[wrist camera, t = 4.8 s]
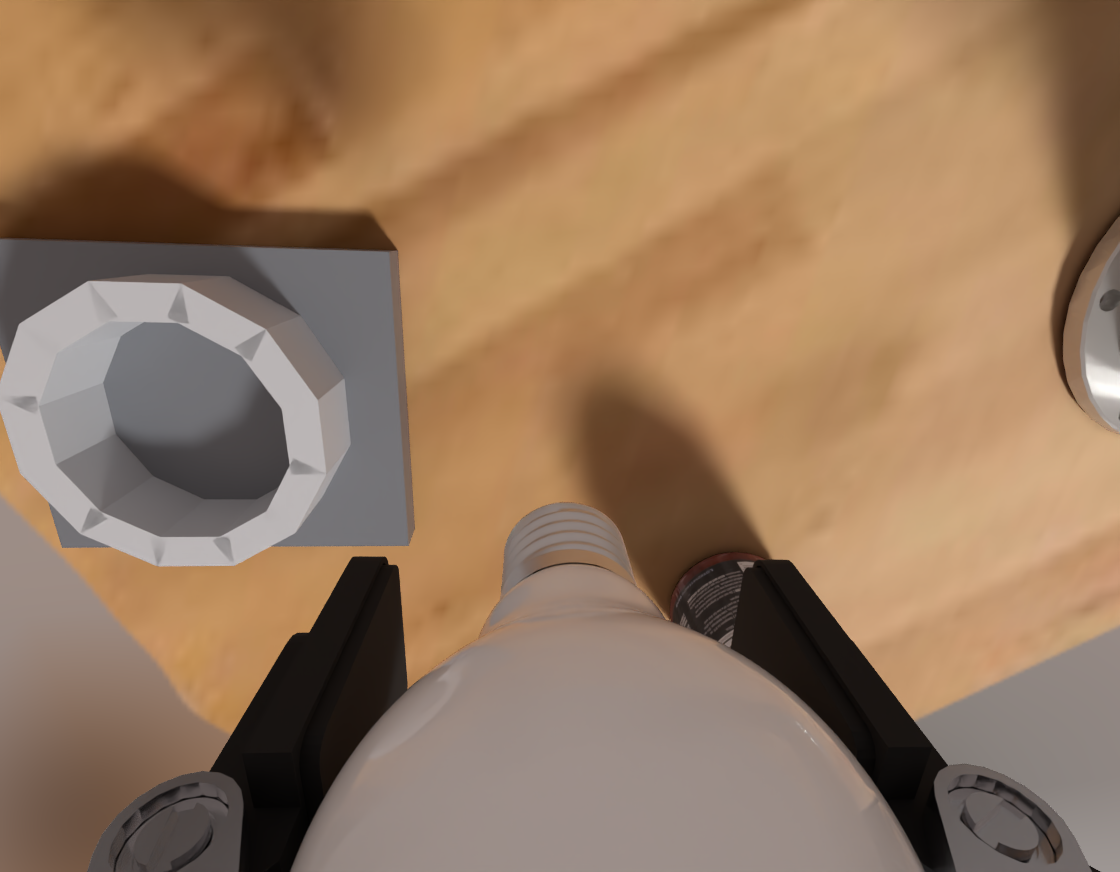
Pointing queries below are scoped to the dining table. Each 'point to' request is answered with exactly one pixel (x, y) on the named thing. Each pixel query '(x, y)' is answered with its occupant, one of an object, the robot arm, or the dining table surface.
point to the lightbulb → (598, 744)
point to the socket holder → (207, 395)
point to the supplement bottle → (711, 595)
